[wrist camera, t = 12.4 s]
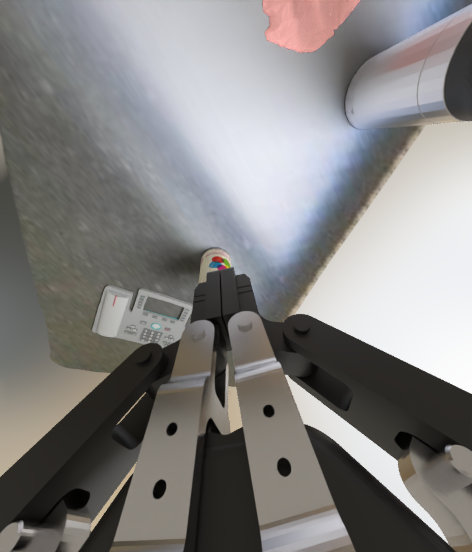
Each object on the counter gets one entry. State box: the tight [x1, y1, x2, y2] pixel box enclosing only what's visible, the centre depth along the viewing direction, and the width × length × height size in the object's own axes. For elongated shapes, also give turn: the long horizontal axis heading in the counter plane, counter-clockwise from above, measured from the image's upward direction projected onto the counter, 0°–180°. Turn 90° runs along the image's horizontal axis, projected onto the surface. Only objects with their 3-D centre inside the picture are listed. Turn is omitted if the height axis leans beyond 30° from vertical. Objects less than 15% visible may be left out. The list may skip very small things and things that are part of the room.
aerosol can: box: [199, 248, 232, 283], centre depth 39 cm, size 7×7×20 cm
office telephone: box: [92, 285, 193, 348], centre depth 54 cm, size 23×3×20 cm
